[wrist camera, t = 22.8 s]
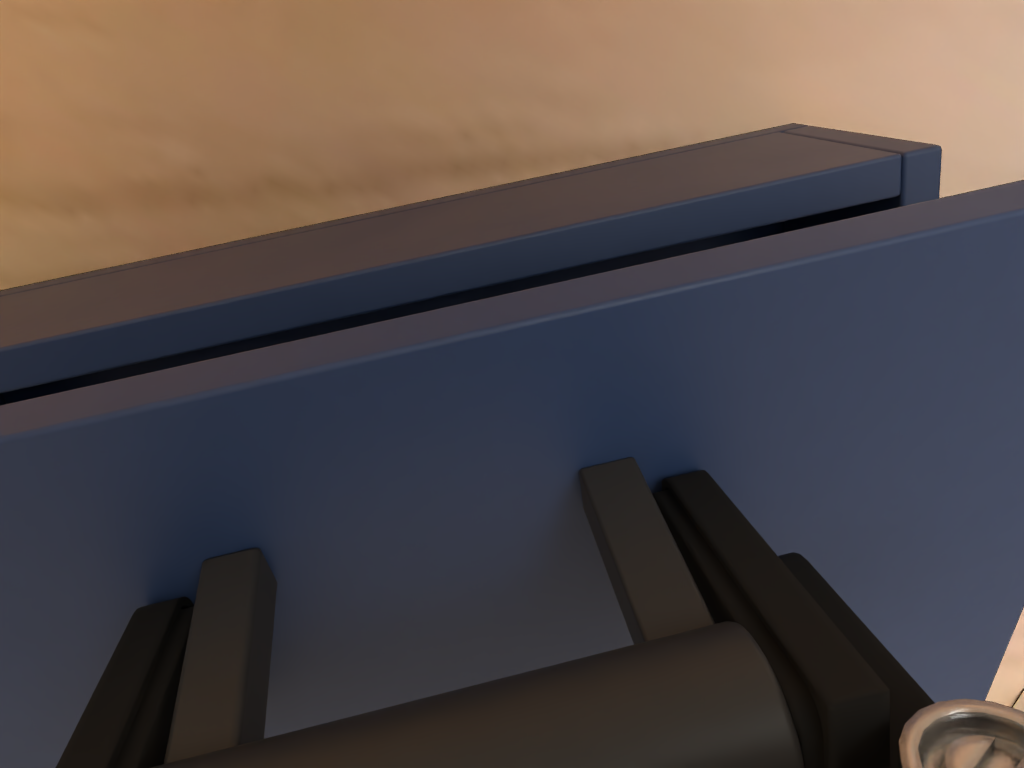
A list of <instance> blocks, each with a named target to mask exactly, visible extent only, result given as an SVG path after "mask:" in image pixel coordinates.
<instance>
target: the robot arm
mask: <svg viewBox="0 0 1024 768" xmlns="http://www.w3.org/2000/svg"><path fill="white" fill-rule="evenodd" d="M652 495H653V497H654V499H655V501H656V503H657V505H658V507H659V509H660V511H661V513H662V515H663V517H664V519H665V521H666V524H667V526H668V528H669V530H670V532H671V534H672V536H673V538H674V540H675V542H676V544H677V546H678V548H679V550H680V552H681V554H682V556H683V558H684V561H685V563H686V565H687V567H688V569H689V571H690V573H691V575H692V577H693V579H694V581H695V583H696V585H697V587H698V589H699V591H700V593H701V595H702V598H703V600H704V602H705V604H706V606H707V608H708V610H709V612H710V614H711V616H712V618H713V620H714V622H715V624H717V623H721V622H725V621H730V622H736V623H739V624H740V625H742V626H743V627H744V628H745V629H746V630H747V631H748V632H749V633H750V634H751V636H752V637H753V638H754V640H755V641H756V643H757V644H758V645H759V647H760V649H761V650H762V652H763V653H764V655H765V657H766V658H767V660H768V662H769V664H770V666H771V668H772V670H773V672H774V674H775V676H776V678H777V680H778V682H779V685H780V687H781V689H782V692H783V695H784V697H785V700H786V703H787V706H788V708H789V711H790V714H791V717H792V720H793V723H794V726H795V730H796V733H797V736H798V739H799V743H800V747H801V752H802V756H803V762H804V768H1024V712H1023V711H1021V710H1018V709H1014V708H1011V707H1008V706H1005V705H1001V704H998V703H995V702H990V701H981V700H972V699H956V700H947V701H939V702H937V703H935V702H934V701H933V700H932V699H931V698H930V697H929V696H928V695H927V693H926V692H925V691H924V690H923V689H922V688H921V687H920V686H919V685H918V683H917V682H916V681H915V680H914V679H913V678H912V677H911V676H910V674H909V673H908V672H907V671H906V670H905V669H904V668H903V667H902V665H901V664H900V663H899V662H898V661H897V660H896V659H895V658H894V657H893V655H892V654H891V653H890V652H889V651H888V650H887V649H886V648H885V646H884V645H883V644H882V643H881V642H880V641H879V640H878V639H877V637H876V636H875V635H874V634H873V633H872V632H871V631H870V630H869V629H868V627H867V626H866V625H865V624H864V623H863V622H862V621H861V620H860V618H859V617H858V616H857V615H856V614H855V613H854V612H853V611H852V609H851V608H850V607H849V606H848V605H847V604H846V603H845V602H844V601H843V599H842V598H841V597H840V596H839V595H838V594H837V593H836V592H835V590H834V589H833V588H832V587H831V586H830V585H829V584H828V583H827V581H826V580H825V579H824V578H823V577H822V576H821V575H820V574H819V573H818V571H817V570H816V569H815V568H814V567H813V566H812V565H811V564H810V562H809V561H808V560H806V559H805V558H804V557H803V556H802V555H801V554H799V553H795V552H791V553H788V554H784V555H780V556H777V555H776V553H775V552H774V551H773V550H772V549H771V547H770V546H769V545H768V544H767V543H766V541H765V540H764V539H763V538H762V537H761V535H760V534H759V533H758V532H757V531H756V529H755V528H754V527H753V526H752V525H751V523H750V522H749V521H748V520H747V519H746V517H745V516H744V515H743V514H742V513H741V511H740V510H739V509H738V508H737V507H736V506H735V504H734V503H733V502H732V501H731V500H730V498H729V497H728V496H727V495H726V494H725V492H724V491H723V490H722V489H721V488H720V486H719V485H718V484H717V483H716V482H715V480H714V479H713V478H712V477H711V476H710V474H709V473H708V472H706V471H705V470H699V471H695V472H691V473H687V474H683V475H679V476H675V477H671V478H667V479H663V480H662V491H660V492H656V493H652ZM193 609H194V604H193V603H192V601H191V600H190V599H189V598H187V597H180V598H176V599H172V600H168V601H163V602H159V603H155V604H151V605H147V606H143V607H140V608H138V609H136V611H135V612H134V613H133V615H132V617H131V619H130V621H129V623H128V625H127V627H126V629H125V631H124V633H123V635H122V637H121V639H120V641H119V643H118V645H117V647H116V649H115V651H114V653H113V655H112V657H111V659H110V661H109V663H108V665H107V666H106V668H105V670H104V672H103V674H102V676H101V678H100V680H99V682H98V684H97V686H96V688H95V690H94V692H93V694H92V696H91V698H90V700H89V702H88V704H87V706H86V708H85V710H84V712H83V714H82V716H81V718H80V720H79V722H78V724H77V726H76V728H75V730H74V732H73V734H72V736H71V738H70V740H69V742H68V744H67V746H66V748H65V750H64V752H63V754H62V756H61V758H60V760H59V762H58V764H57V766H56V768H151V767H155V766H159V765H163V764H164V759H165V754H166V749H167V744H168V738H169V733H170V728H171V723H172V718H173V713H174V707H175V702H176V697H177V692H178V687H179V682H180V676H181V671H182V666H183V661H184V656H185V650H186V645H187V640H188V635H189V630H190V625H191V619H192V614H193Z"/></svg>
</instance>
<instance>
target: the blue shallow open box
mask: <svg viewBox="0 0 1024 768" xmlns="http://www.w3.org/2000/svg"><path fill="white" fill-rule="evenodd" d="M941 153H942V150H941V147H940V146H938V145H933V144H927V143H920V142H914V141H907V140H900V139H894V138H887V137H881V136H874V135H868V134H861V133H854V132H848V131H841V130H835V129H828V128H821V127H815V126H807V125H802V124H795V123H792V124H788V125H783V126H778V127H773V128H769V129H764V130H759V131H754V132H750V133H745V134H740V135H735V136H731V137H726V138H721V139H716V140H712V141H707V142H702V143H698V144H693V145H688V146H683V147H679V148H674V149H669V150H664V151H660V152H655V153H650V154H645V155H641V156H636V157H631V158H626V159H622V160H617V161H612V162H607V163H603V164H598V165H593V166H589V167H584V168H579V169H574V170H570V171H565V172H560V173H555V174H551V175H546V176H541V177H536V178H532V179H527V180H522V181H517V182H513V183H508V184H503V185H498V186H494V187H489V188H484V189H479V190H475V191H470V192H465V193H461V194H456V195H451V196H446V197H442V198H437V199H432V200H427V201H423V202H418V203H413V204H408V205H404V206H399V207H394V208H389V209H385V210H380V211H375V212H370V213H366V214H361V215H356V216H351V217H347V218H342V219H337V220H333V221H328V222H323V223H318V224H314V225H309V226H304V227H299V228H295V229H290V230H285V231H280V232H276V233H271V234H266V235H261V236H257V237H252V238H247V239H242V240H238V241H233V242H228V243H224V244H219V245H214V246H209V247H205V248H200V249H195V250H190V251H186V252H181V253H176V254H171V255H167V256H162V257H157V258H152V259H148V260H143V261H138V262H133V263H129V264H124V265H119V266H114V267H110V268H105V269H100V270H96V271H91V272H86V273H81V274H77V275H72V276H67V277H62V278H58V279H53V280H48V281H43V282H39V283H34V284H29V285H24V286H20V287H15V288H10V289H5V290H1V291H0V406H1V405H6V404H10V403H15V402H19V401H24V400H28V399H33V398H37V397H42V396H46V395H51V394H55V393H60V392H65V391H69V390H74V389H78V388H83V387H87V386H92V385H96V384H101V383H105V382H110V381H114V380H119V379H123V378H128V377H133V376H137V375H142V374H146V373H151V372H155V371H160V370H164V369H169V368H173V367H178V366H182V365H187V364H191V363H196V362H200V361H205V360H210V359H214V358H219V357H223V356H228V355H232V354H237V353H241V352H246V351H250V350H255V349H259V348H264V347H268V346H273V345H278V344H282V343H287V342H291V341H296V340H300V339H305V338H309V337H314V336H318V335H323V334H327V333H332V332H336V331H341V330H345V329H350V328H355V327H359V326H364V325H368V324H373V323H377V322H382V321H386V320H391V319H395V318H400V317H404V316H409V315H413V314H418V313H423V312H427V311H432V310H436V309H441V308H445V307H450V306H454V305H459V304H463V303H468V302H472V301H477V300H481V299H486V298H490V297H495V296H500V295H504V294H509V293H513V292H518V291H522V290H527V289H531V288H536V287H540V286H545V285H549V284H554V283H558V282H563V281H568V280H572V279H577V278H581V277H586V276H590V275H595V274H599V273H604V272H608V271H613V270H617V269H622V268H626V267H631V266H635V265H640V264H645V263H649V262H654V261H658V260H663V259H667V258H672V257H676V256H681V255H685V254H690V253H694V252H699V251H703V250H708V249H713V248H717V247H722V246H726V245H731V244H735V243H740V242H744V241H749V240H753V239H758V238H762V237H767V236H771V235H776V234H780V233H785V232H790V231H794V230H799V229H803V228H808V227H812V226H817V225H821V224H826V223H830V222H835V221H839V220H844V219H848V218H853V217H858V216H862V215H867V214H871V213H876V212H880V211H885V210H889V209H894V208H898V207H903V206H907V205H912V204H916V203H921V202H925V201H930V200H935V199H939V189H940V171H941Z"/></svg>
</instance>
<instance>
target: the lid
mask: <svg viewBox="0 0 1024 768" xmlns="http://www.w3.org/2000/svg"><path fill="white" fill-rule="evenodd" d="M699 470H705V471H706V472H708V473H709V474H710V476H711V477H712V478H713V479H714V480H715V482H716V483H717V484H718V485H719V486H720V488H721V489H722V490H723V491H724V492H725V494H726V495H727V496H728V497H729V498H730V500H731V501H732V502H733V503H734V504H735V506H736V507H737V508H738V509H739V510H740V511H741V513H742V514H743V515H744V516H745V517H746V519H747V520H748V521H749V522H750V523H751V525H752V526H753V527H754V528H755V529H756V531H757V532H758V533H759V534H760V535H761V537H762V538H763V539H764V540H765V541H766V543H767V544H768V545H769V546H770V547H771V549H772V550H773V551H774V552H775V553H776V555H777V556H780V555H784V554H788V553H791V552H795V553H799V554H801V555H802V556H803V557H804V558H805V559H806V560H808V561H809V562H810V564H811V565H812V566H813V567H814V568H815V569H816V570H817V571H818V573H819V574H820V575H821V576H822V577H823V578H824V579H825V580H826V581H827V583H828V584H829V585H830V586H831V587H832V588H833V589H834V590H835V592H836V593H837V594H838V595H839V596H840V597H841V598H842V599H843V601H844V602H845V603H846V604H847V605H848V606H849V607H850V608H851V609H852V611H853V612H854V613H855V614H856V615H857V616H858V617H859V618H860V620H861V621H862V622H863V623H864V624H865V625H866V626H867V627H868V629H869V630H870V631H871V632H872V633H873V634H874V635H875V636H876V637H877V639H878V640H879V641H880V642H881V643H882V644H883V645H884V646H885V648H886V649H887V650H888V651H889V652H890V653H891V654H892V655H893V657H894V658H895V659H896V660H897V661H898V662H899V663H900V664H901V665H902V667H903V668H904V669H905V670H906V671H907V672H908V673H909V674H910V676H911V677H912V678H913V679H914V680H915V681H916V682H917V683H918V685H919V686H920V687H921V688H922V689H923V690H924V691H925V692H926V693H927V695H928V696H929V697H930V698H931V699H932V700H933V701H934V702H935V703H937V702H939V701H947V700H956V699H972V700H981V701H985V699H986V697H987V694H988V692H989V689H990V687H991V685H992V682H993V680H994V677H995V675H996V673H997V670H998V668H999V665H1000V663H1001V660H1002V658H1003V656H1004V653H1005V651H1006V648H1007V646H1008V644H1009V641H1010V639H1011V636H1012V634H1013V632H1014V629H1015V627H1016V624H1017V622H1018V620H1019V617H1020V615H1021V612H1022V610H1023V608H1024V180H1021V181H1016V182H1012V183H1007V184H1003V185H998V186H993V187H989V188H984V189H980V190H975V191H971V192H966V193H962V194H957V195H953V196H948V197H944V198H939V199H935V200H930V201H925V202H921V203H916V204H912V205H907V206H903V207H898V208H894V209H889V210H885V211H880V212H876V213H871V214H867V215H862V216H858V217H853V218H848V219H844V220H839V221H835V222H830V223H826V224H821V225H817V226H812V227H808V228H803V229H799V230H794V231H790V232H785V233H780V234H776V235H771V236H767V237H762V238H758V239H753V240H749V241H744V242H740V243H735V244H731V245H726V246H722V247H717V248H713V249H708V250H703V251H699V252H694V253H690V254H685V255H681V256H676V257H672V258H667V259H663V260H658V261H654V262H649V263H645V264H640V265H635V266H631V267H626V268H622V269H617V270H613V271H608V272H604V273H599V274H595V275H590V276H586V277H581V278H577V279H572V280H568V281H563V282H558V283H554V284H549V285H545V286H540V287H536V288H531V289H527V290H522V291H518V292H513V293H509V294H504V295H500V296H495V297H490V298H486V299H481V300H477V301H472V302H468V303H463V304H459V305H454V306H450V307H445V308H441V309H436V310H432V311H427V312H423V313H418V314H413V315H409V316H404V317H400V318H395V319H391V320H386V321H382V322H377V323H373V324H368V325H364V326H359V327H355V328H350V329H345V330H341V331H336V332H332V333H327V334H323V335H318V336H314V337H309V338H305V339H300V340H296V341H291V342H287V343H282V344H278V345H273V346H268V347H264V348H259V349H255V350H250V351H246V352H241V353H237V354H232V355H228V356H223V357H219V358H214V359H210V360H205V361H200V362H196V363H191V364H187V365H182V366H178V367H173V368H169V369H164V370H160V371H155V372H151V373H146V374H142V375H137V376H133V377H128V378H123V379H119V380H114V381H110V382H105V383H101V384H96V385H92V386H87V387H83V388H78V389H74V390H69V391H65V392H60V393H55V394H51V395H46V396H42V397H37V398H33V399H28V400H24V401H19V402H15V403H10V404H6V405H1V406H0V768H56V766H57V764H58V762H59V760H60V758H61V756H62V754H63V752H64V750H65V748H66V746H67V744H68V742H69V740H70V738H71V736H72V734H73V732H74V730H75V728H76V726H77V724H78V722H79V720H80V718H81V716H82V714H83V712H84V710H85V708H86V706H87V704H88V702H89V700H90V698H91V696H92V694H93V692H94V690H95V688H96V686H97V684H98V682H99V680H100V678H101V676H102V674H103V672H104V670H105V668H106V666H107V665H108V663H109V661H110V659H111V657H112V655H113V653H114V651H115V649H116V647H117V645H118V643H119V641H120V639H121V637H122V635H123V633H124V631H125V629H126V627H127V625H128V623H129V621H130V619H131V617H132V615H133V613H134V612H135V611H136V609H138V608H140V607H143V606H147V605H151V604H155V603H159V602H163V601H168V600H172V599H176V598H180V597H187V598H189V599H190V600H191V601H192V603H193V604H194V609H193V614H192V619H191V625H190V630H189V635H188V640H187V645H186V650H185V656H184V661H183V666H182V671H181V676H180V682H179V687H178V692H177V697H176V702H175V707H174V713H173V718H172V723H171V728H170V733H169V738H168V744H167V749H166V754H165V759H164V764H163V765H159V766H155V767H151V768H804V762H803V756H802V752H801V747H800V743H799V739H798V736H797V733H796V730H795V726H794V723H793V720H792V717H791V714H790V711H789V708H788V706H787V703H786V700H785V697H784V695H783V692H782V689H781V687H780V685H779V682H778V680H777V678H776V676H775V674H774V672H773V670H772V668H771V666H770V664H769V662H768V660H767V658H766V657H765V655H764V653H763V652H762V650H761V649H760V647H759V645H758V644H757V643H756V641H755V640H754V638H753V637H752V636H751V634H750V633H749V632H748V631H747V630H746V629H745V628H744V627H743V626H742V625H740V624H739V623H736V622H730V621H725V622H721V623H717V624H715V622H714V620H713V618H712V616H711V614H710V612H709V610H708V608H707V606H706V604H705V602H704V600H703V598H702V595H701V593H700V591H699V589H698V587H697V585H696V583H695V581H694V579H693V577H692V575H691V573H690V571H689V569H688V567H687V565H686V563H685V561H684V558H683V556H682V554H681V552H680V550H679V548H678V546H677V544H676V542H675V540H674V538H673V536H672V534H671V532H670V530H669V528H668V526H667V524H666V521H665V519H664V517H663V515H662V513H661V511H660V509H659V507H658V505H657V503H656V501H655V499H654V497H653V495H652V493H656V492H660V491H662V480H663V479H667V478H671V477H675V476H679V475H683V474H687V473H691V472H695V471H699Z"/></svg>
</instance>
